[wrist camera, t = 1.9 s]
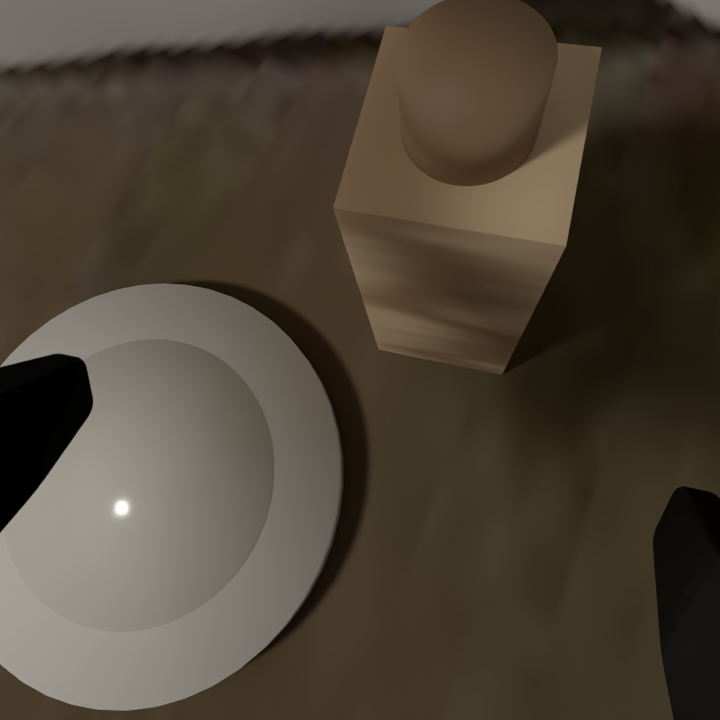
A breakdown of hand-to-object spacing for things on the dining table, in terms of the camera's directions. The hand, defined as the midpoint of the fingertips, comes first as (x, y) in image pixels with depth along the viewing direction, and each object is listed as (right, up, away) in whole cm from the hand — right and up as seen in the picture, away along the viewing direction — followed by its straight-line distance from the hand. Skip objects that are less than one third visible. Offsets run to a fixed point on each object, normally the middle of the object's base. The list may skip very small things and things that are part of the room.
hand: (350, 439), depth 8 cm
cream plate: (-8, -4, +14) cm, 17 cm away
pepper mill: (+4, +3, +15) cm, 16 cm away
